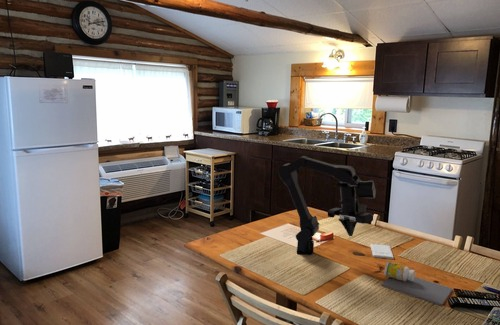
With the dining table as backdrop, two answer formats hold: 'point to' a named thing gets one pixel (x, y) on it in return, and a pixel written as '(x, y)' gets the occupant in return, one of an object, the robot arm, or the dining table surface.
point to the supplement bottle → (399, 272)
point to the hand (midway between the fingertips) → (350, 235)
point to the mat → (420, 289)
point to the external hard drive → (381, 251)
